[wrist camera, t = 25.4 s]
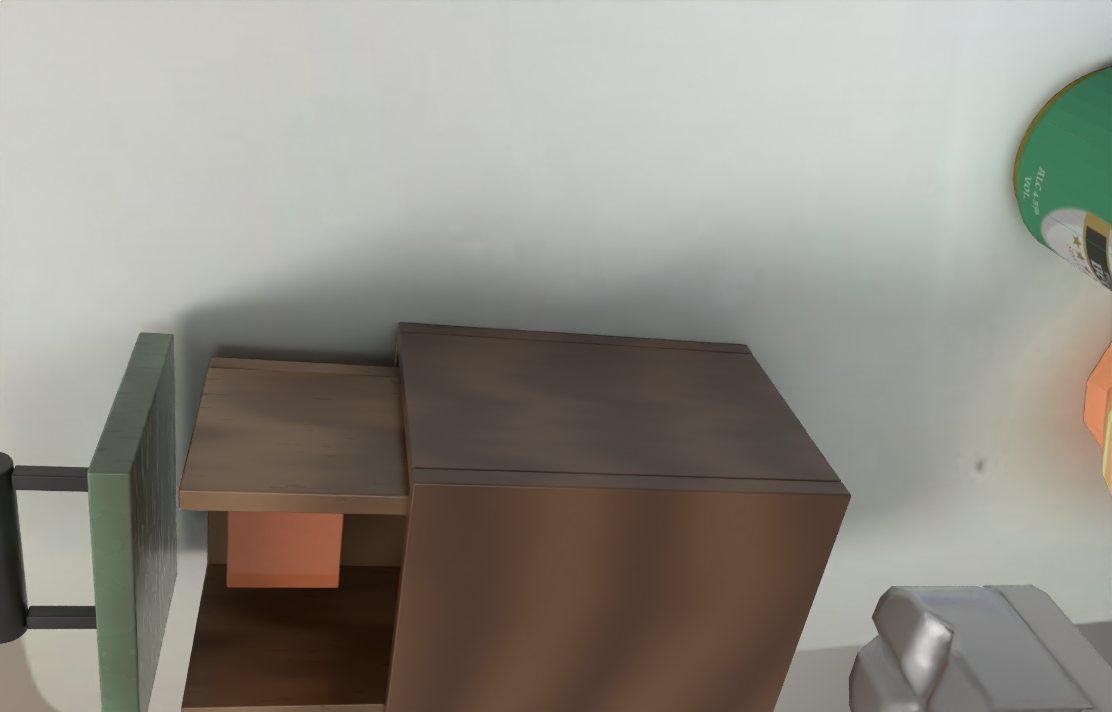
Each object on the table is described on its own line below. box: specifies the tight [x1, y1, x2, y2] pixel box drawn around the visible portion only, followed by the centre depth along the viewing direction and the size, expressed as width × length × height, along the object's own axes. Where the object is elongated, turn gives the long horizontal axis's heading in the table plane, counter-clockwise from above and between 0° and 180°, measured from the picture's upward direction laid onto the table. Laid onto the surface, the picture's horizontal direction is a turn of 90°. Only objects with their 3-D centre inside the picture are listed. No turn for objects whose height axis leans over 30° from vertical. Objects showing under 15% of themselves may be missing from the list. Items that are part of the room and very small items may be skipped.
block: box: [227, 511, 344, 588], centre depth 39 cm, size 4×4×4 cm
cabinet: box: [384, 323, 851, 712], centre depth 40 cm, size 15×13×11 cm
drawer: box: [0, 333, 410, 712], centre depth 37 cm, size 18×11×9 cm, turn 81°
